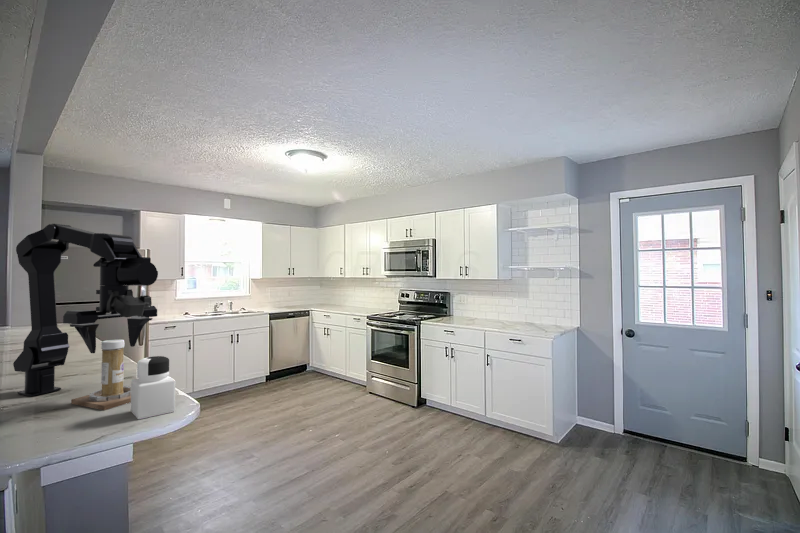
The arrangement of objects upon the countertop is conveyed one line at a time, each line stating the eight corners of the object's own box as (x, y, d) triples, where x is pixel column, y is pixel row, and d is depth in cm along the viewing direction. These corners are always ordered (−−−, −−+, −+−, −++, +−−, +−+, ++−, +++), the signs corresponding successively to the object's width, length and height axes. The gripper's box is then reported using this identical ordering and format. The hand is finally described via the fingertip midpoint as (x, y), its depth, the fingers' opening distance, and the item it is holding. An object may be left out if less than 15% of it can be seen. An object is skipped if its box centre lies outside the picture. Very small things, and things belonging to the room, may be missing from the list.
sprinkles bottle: (123, 396, 96) (124, 340, 96) (99, 399, 93) (100, 342, 93) (123, 391, 99) (124, 338, 100) (101, 394, 97) (102, 339, 97)
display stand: (71, 403, 93) (71, 395, 93) (119, 391, 103) (119, 383, 104) (104, 410, 89) (104, 401, 89) (151, 396, 99) (151, 388, 99)
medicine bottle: (166, 404, 93) (167, 353, 93) (175, 411, 88) (176, 357, 88) (130, 411, 88) (131, 357, 88) (137, 420, 83) (138, 362, 83)
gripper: (93, 286, 85) (92, 359, 85) (172, 284, 102) (171, 345, 102) (62, 286, 89) (61, 356, 89) (143, 284, 106) (142, 342, 106)
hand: (113, 349), depth 96 cm, fingers open, 9 cm apart
